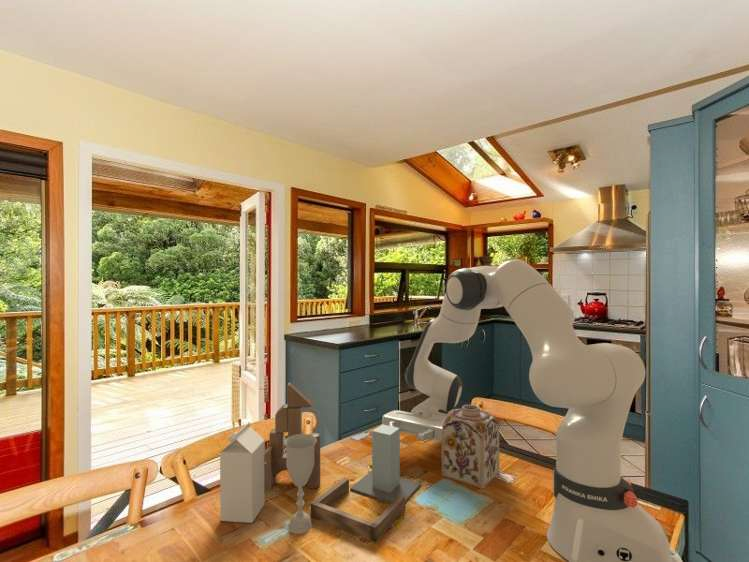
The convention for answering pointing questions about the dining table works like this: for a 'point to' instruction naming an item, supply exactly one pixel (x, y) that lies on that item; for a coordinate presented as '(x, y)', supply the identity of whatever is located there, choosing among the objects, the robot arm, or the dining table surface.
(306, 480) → the chalice
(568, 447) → the robot arm
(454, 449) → the decorative jar
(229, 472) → the milk carton
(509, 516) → the dining table surface
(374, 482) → the block
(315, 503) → the wooden rectangular frame
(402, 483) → the dark grey flat plate
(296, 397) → the wooden toy
